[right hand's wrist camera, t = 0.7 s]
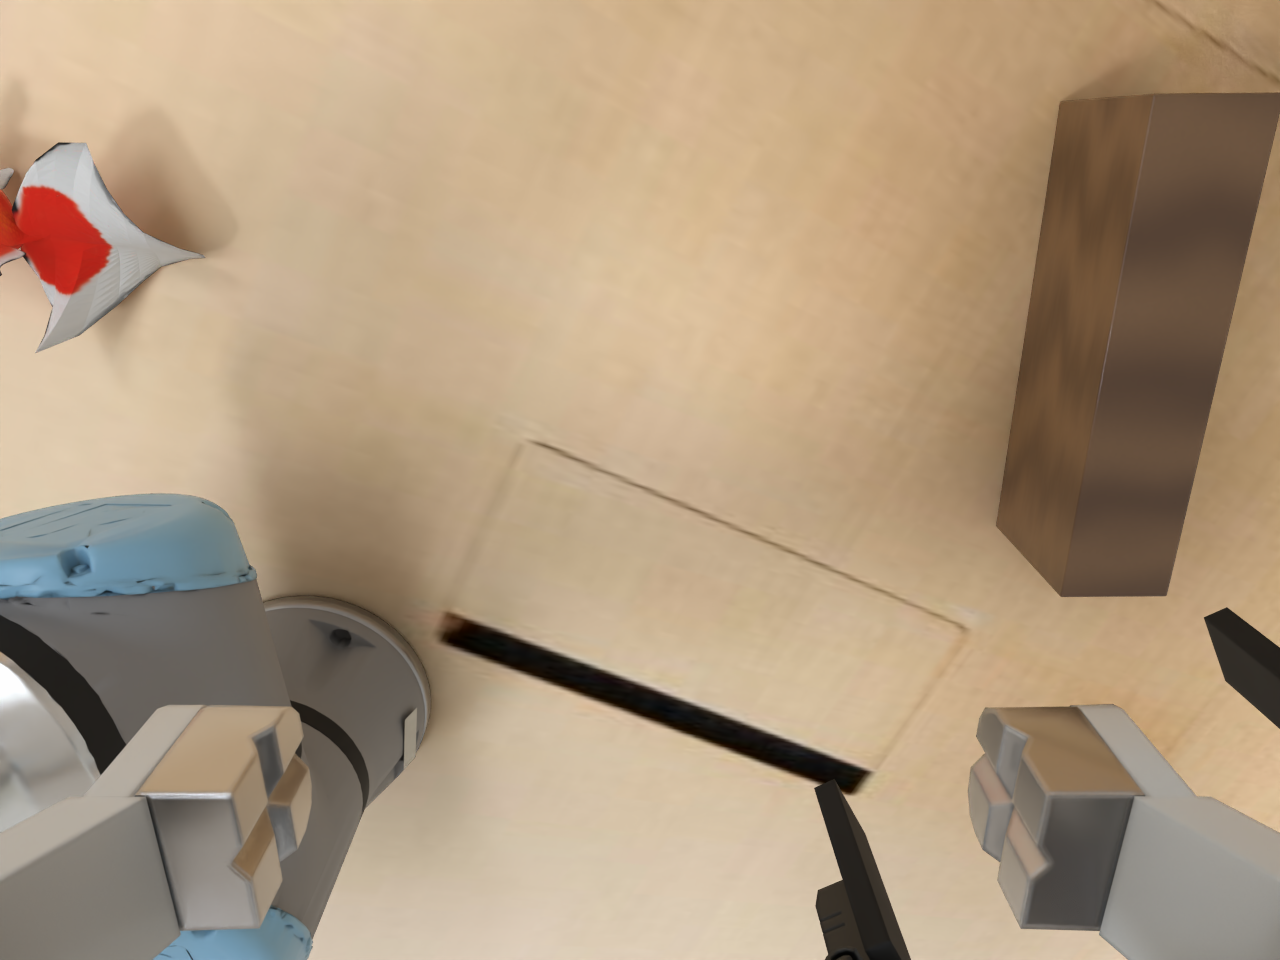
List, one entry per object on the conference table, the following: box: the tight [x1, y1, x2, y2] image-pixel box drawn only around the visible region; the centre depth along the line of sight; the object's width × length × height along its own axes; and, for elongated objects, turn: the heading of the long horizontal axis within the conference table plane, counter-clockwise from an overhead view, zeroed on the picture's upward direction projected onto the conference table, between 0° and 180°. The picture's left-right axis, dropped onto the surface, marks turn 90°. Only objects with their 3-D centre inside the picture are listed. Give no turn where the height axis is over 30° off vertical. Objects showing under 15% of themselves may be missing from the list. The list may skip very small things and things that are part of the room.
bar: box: [996, 93, 1280, 597], centre depth 48 cm, size 25×6×9 cm, turn 0°
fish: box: [0, 143, 206, 353], centre depth 46 cm, size 11×16×10 cm
